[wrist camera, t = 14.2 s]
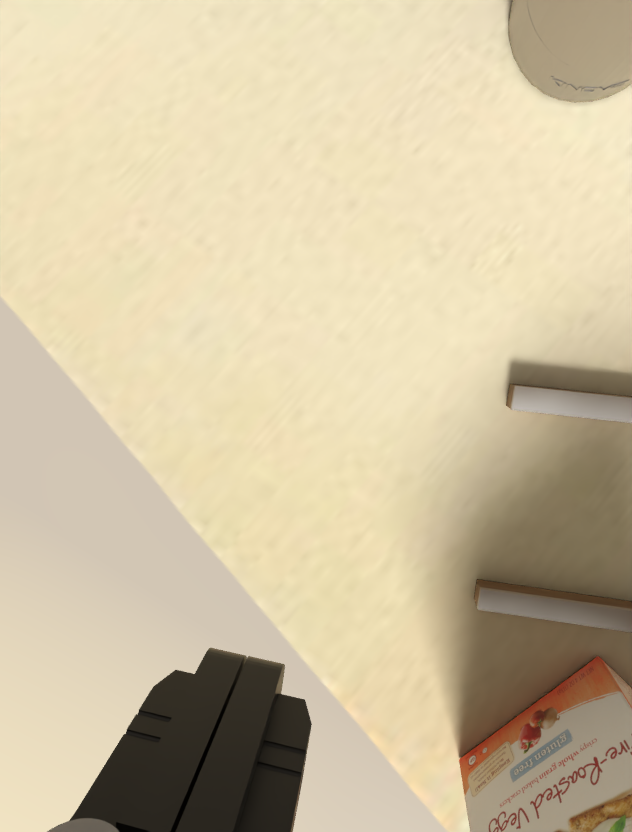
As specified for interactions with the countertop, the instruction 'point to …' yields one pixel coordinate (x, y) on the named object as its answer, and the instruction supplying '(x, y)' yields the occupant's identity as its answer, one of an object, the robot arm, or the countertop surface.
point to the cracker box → (558, 762)
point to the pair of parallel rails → (550, 601)
